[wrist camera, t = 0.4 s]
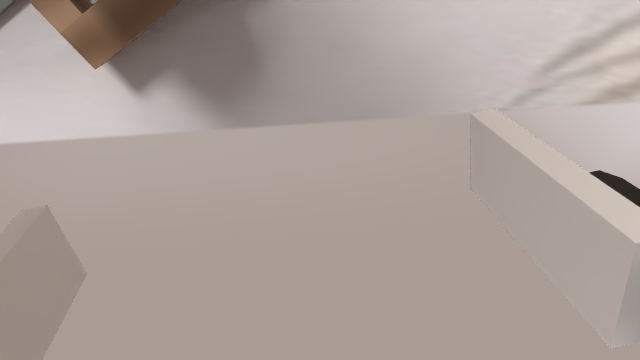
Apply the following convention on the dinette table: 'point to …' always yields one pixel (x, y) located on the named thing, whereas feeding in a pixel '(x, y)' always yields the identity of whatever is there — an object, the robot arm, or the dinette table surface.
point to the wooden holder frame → (102, 23)
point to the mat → (5, 4)
